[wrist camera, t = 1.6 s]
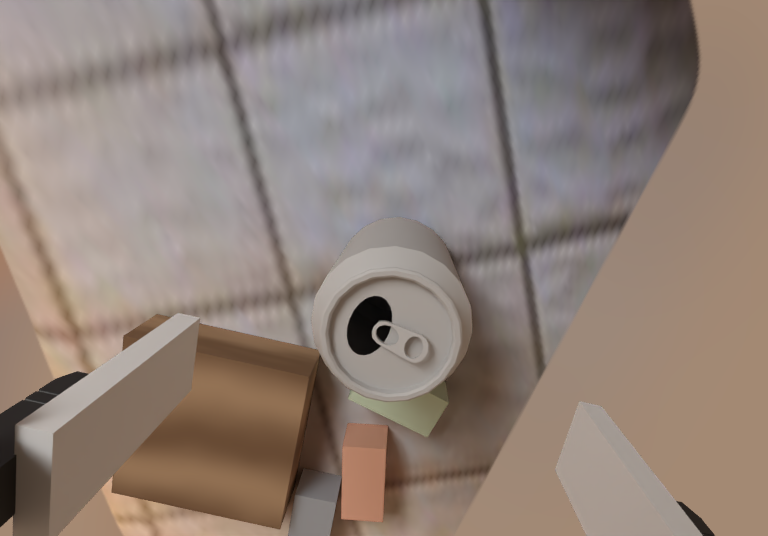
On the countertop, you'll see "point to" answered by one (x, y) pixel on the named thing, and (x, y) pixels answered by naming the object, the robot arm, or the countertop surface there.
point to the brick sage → (410, 409)
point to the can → (392, 312)
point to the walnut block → (228, 429)
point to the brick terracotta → (364, 472)
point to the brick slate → (314, 504)
